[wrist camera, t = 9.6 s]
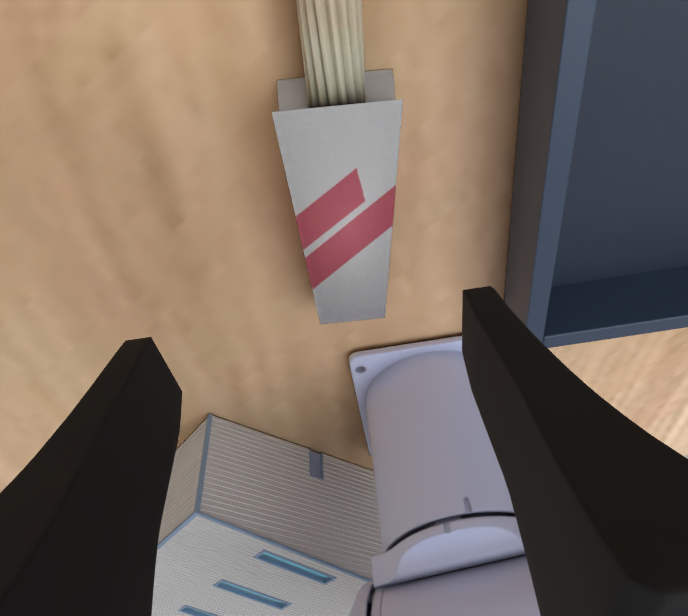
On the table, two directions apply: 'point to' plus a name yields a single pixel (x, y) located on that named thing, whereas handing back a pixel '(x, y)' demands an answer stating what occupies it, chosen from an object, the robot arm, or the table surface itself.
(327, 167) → the churro in paper sleeve
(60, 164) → the table surface
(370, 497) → the slanted gray block
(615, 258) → the dark blue tray
